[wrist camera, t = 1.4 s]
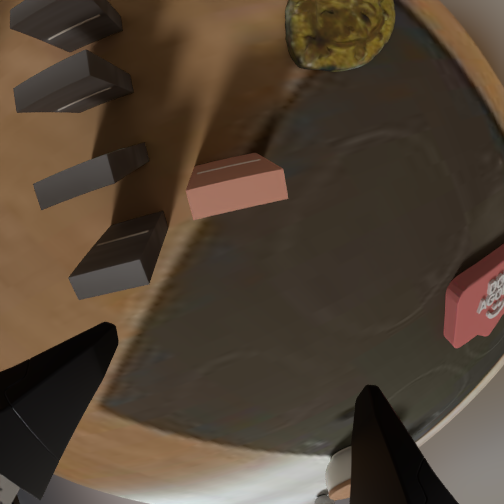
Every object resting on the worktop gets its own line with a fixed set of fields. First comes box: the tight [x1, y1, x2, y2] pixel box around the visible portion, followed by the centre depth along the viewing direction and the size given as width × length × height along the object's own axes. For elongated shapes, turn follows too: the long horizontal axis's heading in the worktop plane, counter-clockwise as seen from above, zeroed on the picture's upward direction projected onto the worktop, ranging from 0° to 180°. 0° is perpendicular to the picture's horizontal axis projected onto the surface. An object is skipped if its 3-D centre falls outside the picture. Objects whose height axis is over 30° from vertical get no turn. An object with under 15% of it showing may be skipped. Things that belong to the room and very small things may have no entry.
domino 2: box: [13, 50, 133, 113], centre depth 15 cm, size 2×5×10 cm, turn 101°
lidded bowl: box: [325, 446, 351, 500], centre depth 43 cm, size 13×13×11 cm
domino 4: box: [69, 211, 168, 300], centre depth 20 cm, size 2×5×10 cm, turn 100°
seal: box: [285, 0, 395, 72], centre depth 17 cm, size 9×5×15 cm
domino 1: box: [10, 0, 123, 52], centre depth 12 cm, size 2×5×10 cm, turn 100°
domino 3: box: [33, 143, 149, 210], centre depth 18 cm, size 2×5×10 cm, turn 101°
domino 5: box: [186, 153, 288, 220], centre depth 19 cm, size 2×5×10 cm, turn 101°
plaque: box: [444, 244, 504, 348], centre depth 34 cm, size 18×4×15 cm
